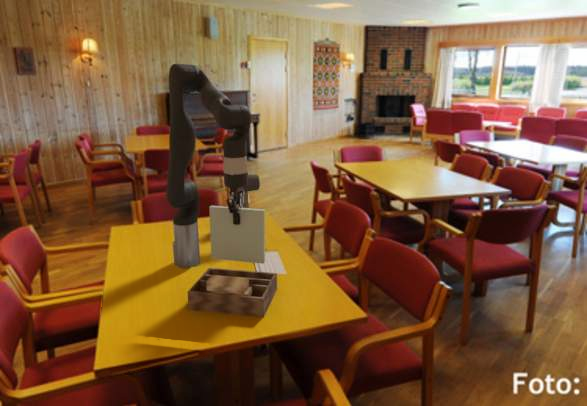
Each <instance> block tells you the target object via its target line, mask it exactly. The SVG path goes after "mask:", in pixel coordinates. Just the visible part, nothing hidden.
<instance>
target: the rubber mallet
mask: <svg viewBox="0 0 587 406" xmlns="http://www.w3.org/2000/svg"><path fill="white" fill-rule="evenodd" d="M260 186H261V183H260V177H259V175H258V174H248V185H247V186H245V187H243V190H246V197H245V206H244V208H249V205H248V195H249V192H254V191H259V190H260ZM248 191H249V192H248Z"/></svg>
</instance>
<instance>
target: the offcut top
mask: <svg viewBox="0 0 587 406" xmlns="http://www.w3.org/2000/svg"><path fill="white" fill-rule="evenodd" d="M206 287H207V291H215V292H227V293H238V294H245V292H246V290H247V289H248V287H249V278H244V277H232V276H220V275H212V276H211V277H210V278H209V279H208V280H207V281H206Z"/></svg>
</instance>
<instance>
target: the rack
mask: <svg viewBox="0 0 587 406" xmlns="http://www.w3.org/2000/svg"><path fill="white" fill-rule="evenodd" d="M212 275H220V276H232V277H244V278H249V287H252V296H242V295H231V294H220V293H210V291H207V287H206V281H207V280H208V279H209V278H210V277H211V276H212ZM277 291H278V274H277V273H269V272H257V271H256V270H254V271H252V270H245V269H244V270H243V269H241V270H239V269H230V268H229V269H228V268H216V267H208V268H207V269H206V271H205V272H204V273H203V274H202V275H201V276H200V278H199V279H197V281H196V282H195V283H193V285H192V286H191V287H190V288H189V290H188V291H187V301H188V310H190V311H191V310H192V311H197V312H198V311H201V312H212V313H220V314H231V315H240V316H250V317H251V316H252V317H261V318H264V317H265V315H266V313H267V312H268V310H269V307H270V306H271V303H272V301H273V300H274V297H275V295H276V294H277Z"/></svg>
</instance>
